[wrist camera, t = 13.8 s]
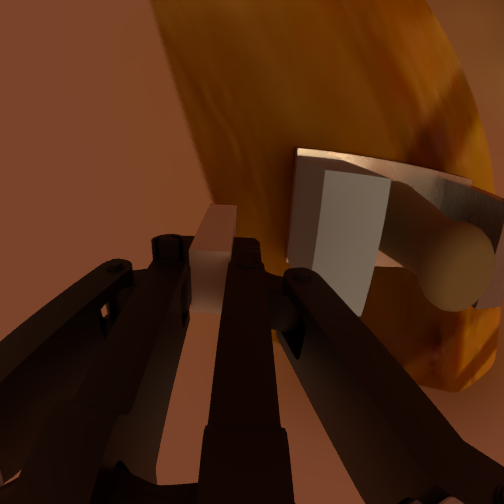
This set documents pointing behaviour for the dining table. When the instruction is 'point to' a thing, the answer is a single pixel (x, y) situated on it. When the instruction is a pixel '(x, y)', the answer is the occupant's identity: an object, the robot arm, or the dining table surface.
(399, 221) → the wooden pawn
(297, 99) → the dining table surface
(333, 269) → the block
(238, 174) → the dining table surface
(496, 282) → the vise
